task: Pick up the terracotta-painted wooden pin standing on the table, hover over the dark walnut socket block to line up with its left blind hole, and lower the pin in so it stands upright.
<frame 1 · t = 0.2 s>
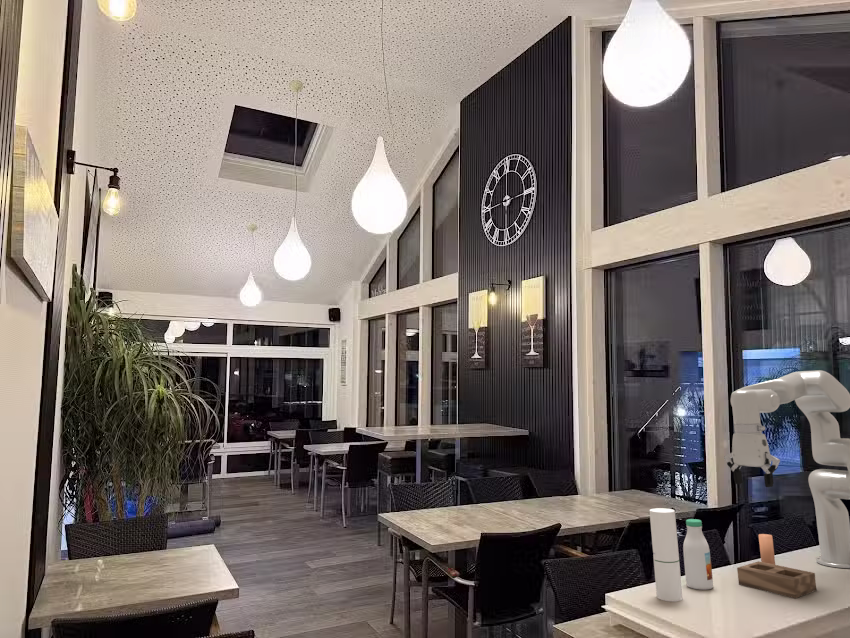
hand: (753, 485, 188), 31 cm above the table, fingers open, 9 cm apart
cylindrical container: (669, 598, 178), on the table
milk bottle: (699, 587, 187), on the table
pin: (769, 573, 199), on the table
socket block: (776, 587, 184), on the table
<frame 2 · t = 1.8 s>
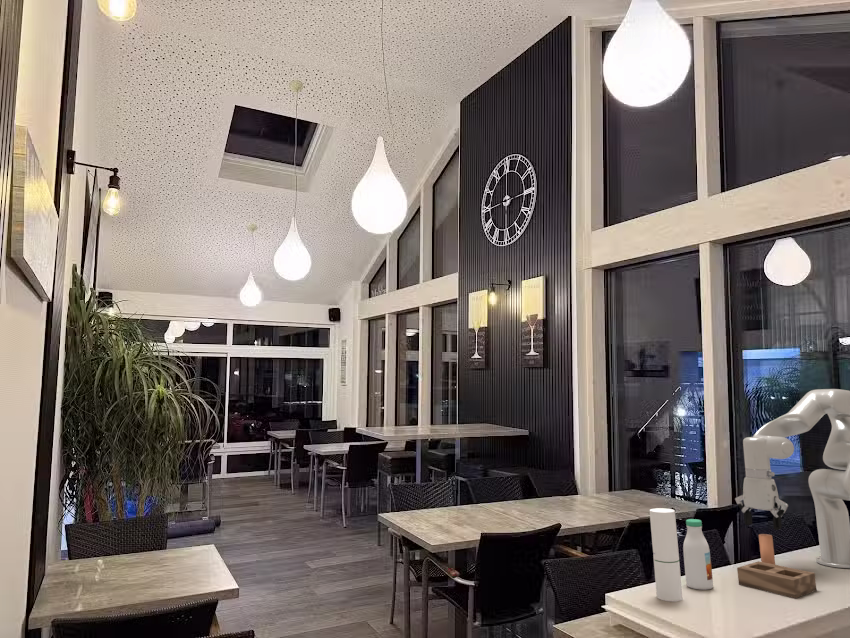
hand: (762, 527, 200), 15 cm above the table, fingers open, 9 cm apart
nothing on the table moved.
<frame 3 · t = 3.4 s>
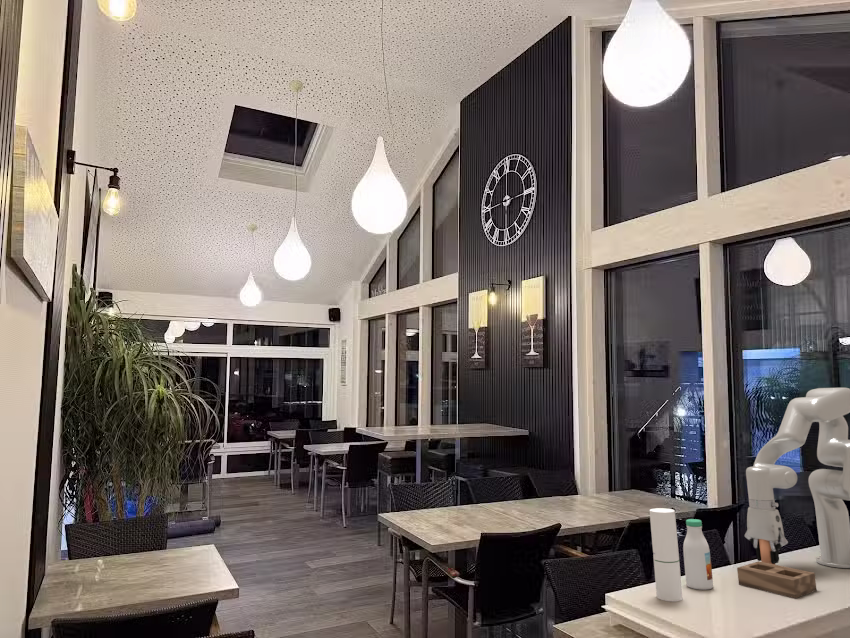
hand: (768, 560, 199), 4 cm above the table, fingers closed on pin, 4 cm apart
pin: (769, 573, 199), on the table, touching gripper
everything else where it was.
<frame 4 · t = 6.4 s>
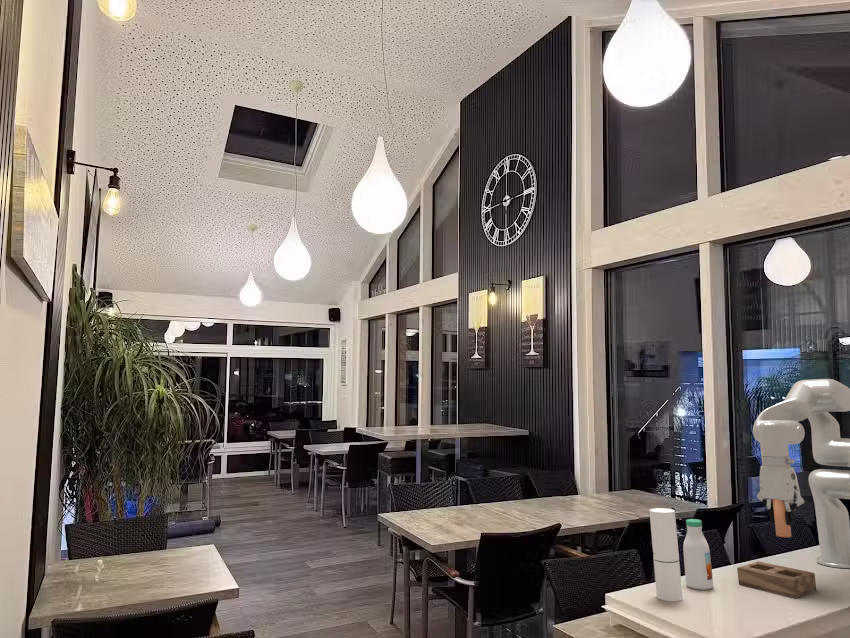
hand: (782, 522, 183), 20 cm above the table, fingers closed on pin, 4 cm apart
pin: (783, 535, 183), point 16 cm above the table, touching gripper
everything else where it was.
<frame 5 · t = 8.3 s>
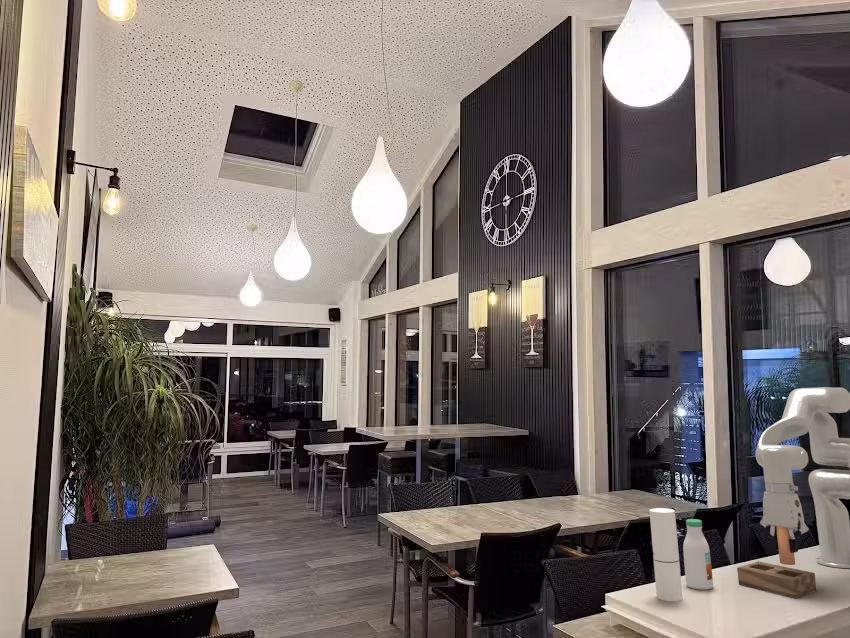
hand: (786, 550, 182), 12 cm above the table, fingers closed on pin, 4 cm apart
pin: (787, 563, 181), point 8 cm above the table, touching gripper
everything else where it was.
when the fingers open (6 cm above the table, at t = 9.7 s): pin drops 1 cm, resting on socket block.
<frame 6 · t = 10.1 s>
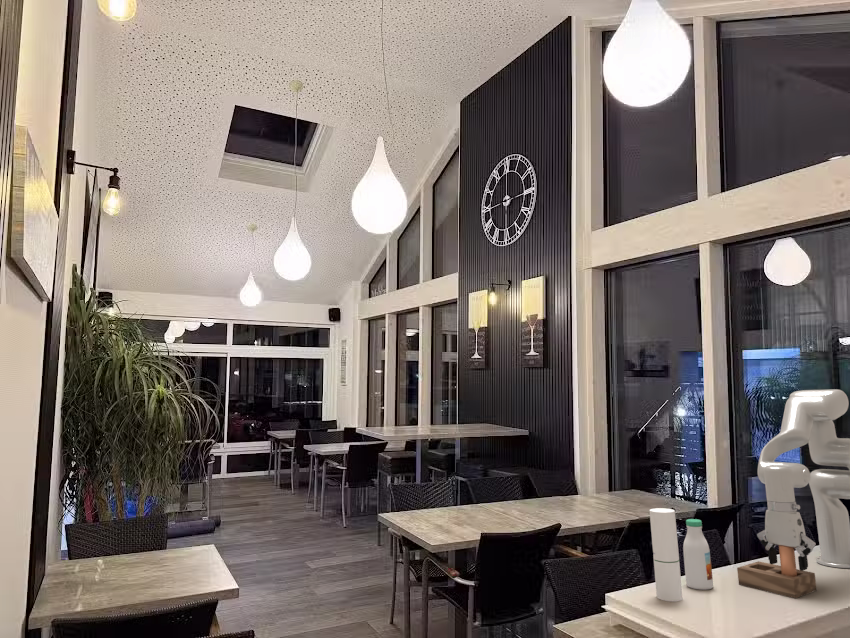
hand: (788, 566, 181), 7 cm above the table, fingers open, 8 cm apart
pin: (790, 587, 180), point 1 cm above the table, touching socket block
everything else where it was.
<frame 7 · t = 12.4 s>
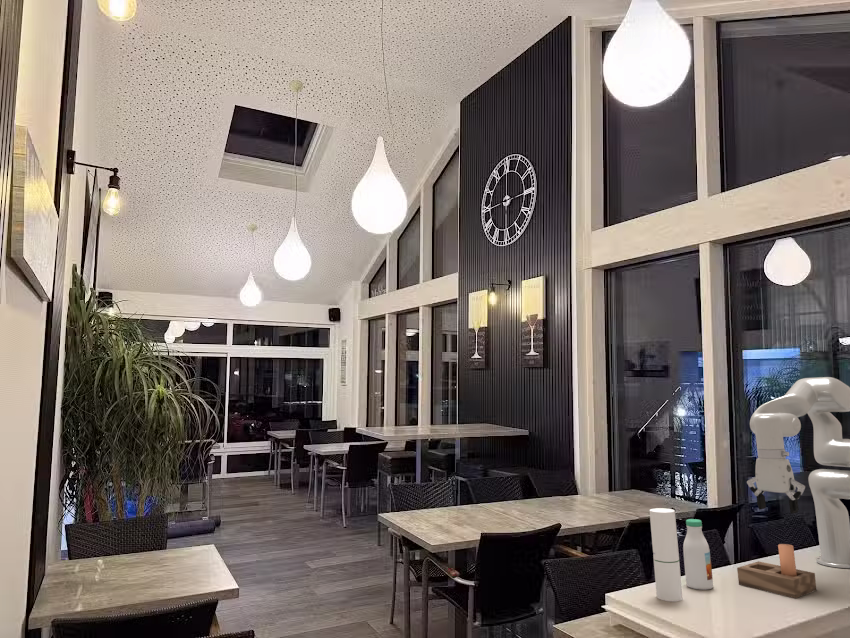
hand: (778, 510, 187), 23 cm above the table, fingers open, 9 cm apart
nothing on the table moved.
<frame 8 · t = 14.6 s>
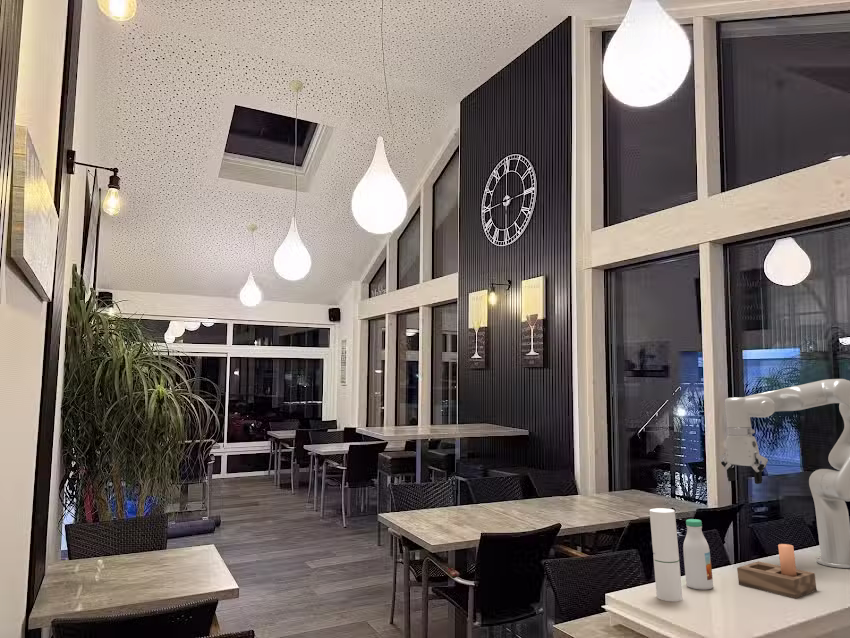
hand: (744, 482, 210), 28 cm above the table, fingers open, 9 cm apart
nothing on the table moved.
at the end: pin 0.1 cm from the target spot on the socket block, point 1.0 cm above the socket block's base; pin tilted 0°; the gripper is holding nothing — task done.
